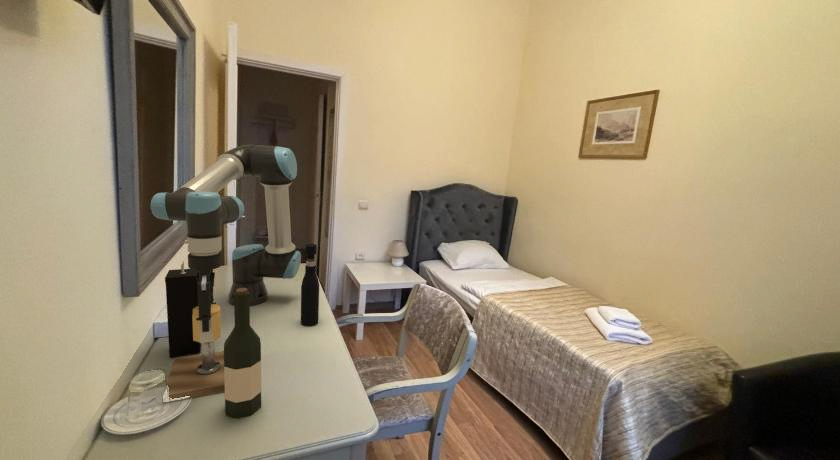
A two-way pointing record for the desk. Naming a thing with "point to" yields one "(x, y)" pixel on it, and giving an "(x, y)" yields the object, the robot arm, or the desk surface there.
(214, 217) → the robot arm
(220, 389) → the walnut board
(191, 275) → the black pillar candle
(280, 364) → the desk surface
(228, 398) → the labelled green bottle
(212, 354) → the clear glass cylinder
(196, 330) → the ochre cap
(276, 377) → the desk surface
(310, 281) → the wine bottle
